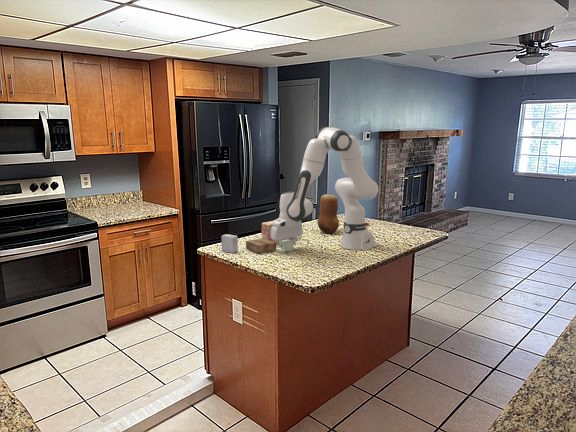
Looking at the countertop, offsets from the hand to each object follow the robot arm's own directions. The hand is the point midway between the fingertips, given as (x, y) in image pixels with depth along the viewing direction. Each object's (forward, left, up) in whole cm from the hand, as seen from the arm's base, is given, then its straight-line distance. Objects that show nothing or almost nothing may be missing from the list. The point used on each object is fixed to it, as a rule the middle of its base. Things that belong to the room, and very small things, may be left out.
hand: (287, 245), depth 231 cm
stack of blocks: (-8, -17, -3) cm, 19 cm away
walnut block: (+11, -8, -3) cm, 14 cm away
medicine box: (+26, -16, -3) cm, 31 cm away
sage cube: (-1, 0, -2) cm, 3 cm away
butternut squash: (-47, -15, -3) cm, 49 cm away
